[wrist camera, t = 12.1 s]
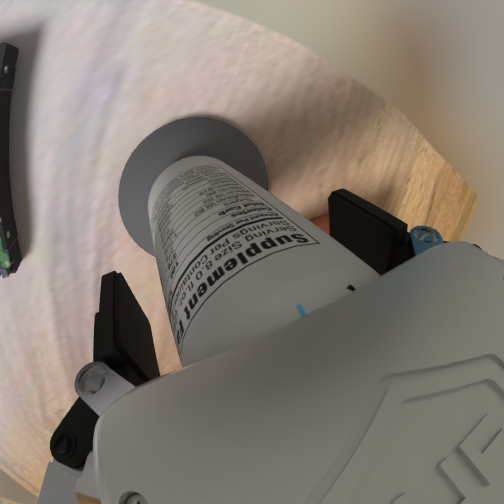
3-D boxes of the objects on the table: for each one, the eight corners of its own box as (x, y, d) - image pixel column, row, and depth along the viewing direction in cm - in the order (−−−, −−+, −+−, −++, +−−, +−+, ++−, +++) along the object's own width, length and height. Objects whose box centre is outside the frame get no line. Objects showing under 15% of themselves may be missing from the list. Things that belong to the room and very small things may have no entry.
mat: (273, 232, 22) (276, 235, 22) (150, 279, 20) (151, 283, 19) (251, 102, 16) (254, 102, 16) (97, 150, 14) (96, 151, 14)
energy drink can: (188, 257, 19) (288, 468, 7) (127, 198, 16) (150, 460, 4) (254, 201, 19) (429, 361, 7) (202, 133, 16) (429, 249, 4)
